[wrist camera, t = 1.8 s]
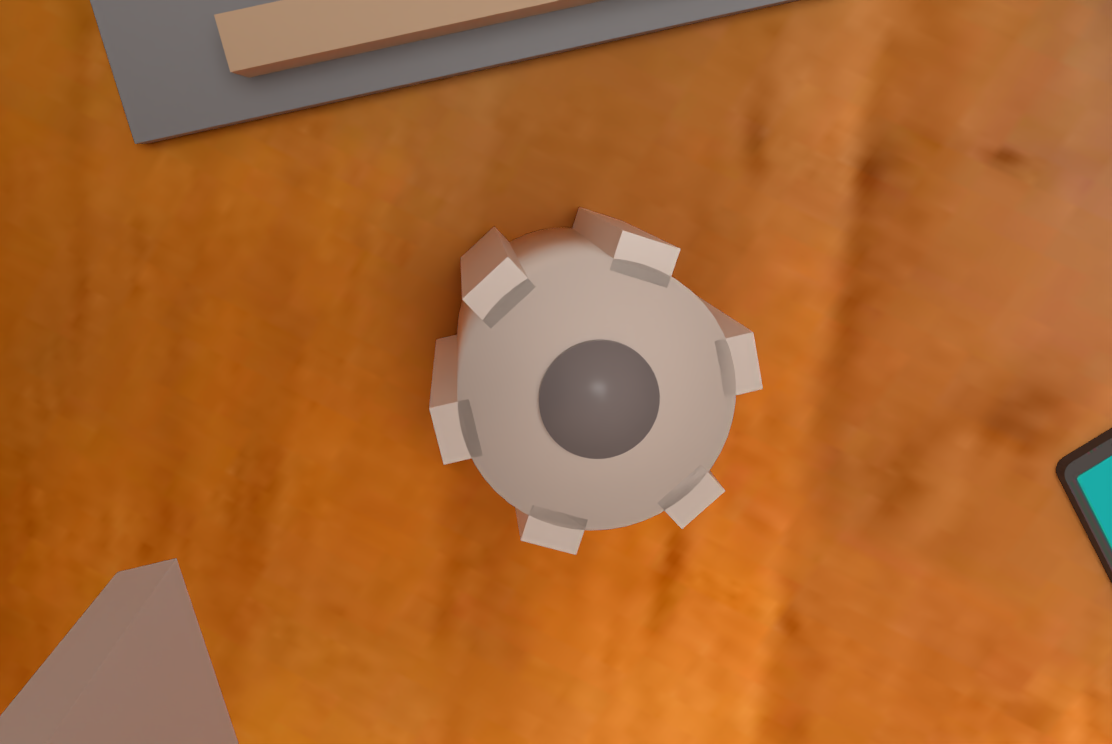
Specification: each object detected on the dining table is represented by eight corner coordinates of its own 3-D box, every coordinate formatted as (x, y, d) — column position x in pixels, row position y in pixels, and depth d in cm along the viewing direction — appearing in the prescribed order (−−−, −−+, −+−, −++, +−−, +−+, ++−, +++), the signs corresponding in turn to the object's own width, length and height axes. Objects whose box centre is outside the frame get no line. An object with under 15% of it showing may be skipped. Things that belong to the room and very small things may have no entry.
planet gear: (469, 470, 27) (473, 584, 20) (412, 245, 26) (396, 283, 19) (702, 414, 27) (785, 507, 20) (659, 188, 26) (734, 205, 19)
